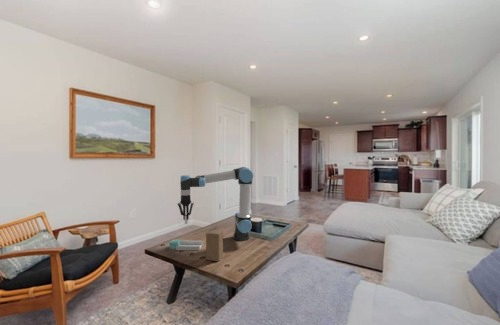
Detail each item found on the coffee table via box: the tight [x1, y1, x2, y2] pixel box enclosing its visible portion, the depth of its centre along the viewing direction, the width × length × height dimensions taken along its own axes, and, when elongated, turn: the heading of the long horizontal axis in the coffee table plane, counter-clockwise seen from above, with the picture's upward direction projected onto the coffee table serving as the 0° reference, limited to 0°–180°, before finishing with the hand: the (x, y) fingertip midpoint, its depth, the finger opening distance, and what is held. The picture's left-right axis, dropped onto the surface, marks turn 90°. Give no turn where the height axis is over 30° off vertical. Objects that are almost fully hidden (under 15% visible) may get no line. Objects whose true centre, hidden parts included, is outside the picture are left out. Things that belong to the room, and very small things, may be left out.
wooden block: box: [205, 228, 224, 262], centre depth 166 cm, size 10×10×20 cm
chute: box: [176, 240, 204, 251], centre depth 185 cm, size 18×12×4 cm, turn 90°
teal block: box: [169, 238, 181, 250], centre depth 185 cm, size 6×6×5 cm
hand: (186, 223), depth 184 cm, fingers closed
